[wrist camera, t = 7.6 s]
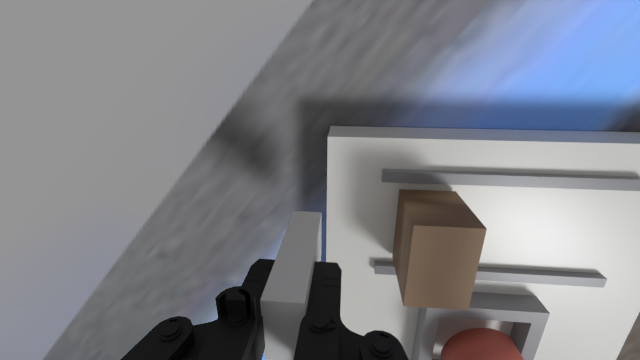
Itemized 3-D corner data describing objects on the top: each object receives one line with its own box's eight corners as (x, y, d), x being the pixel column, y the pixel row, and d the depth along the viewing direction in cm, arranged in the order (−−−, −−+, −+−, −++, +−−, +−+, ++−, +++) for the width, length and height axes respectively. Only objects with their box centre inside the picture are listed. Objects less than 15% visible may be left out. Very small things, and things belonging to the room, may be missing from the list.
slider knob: (392, 256, 18) (403, 306, 15) (399, 189, 17) (413, 225, 13) (443, 259, 18) (468, 310, 14) (455, 191, 16) (486, 228, 13)
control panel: (326, 403, 28) (322, 461, 24) (330, 125, 19) (325, 143, 15) (541, 424, 27) (576, 489, 23) (661, 132, 17) (756, 153, 13)
